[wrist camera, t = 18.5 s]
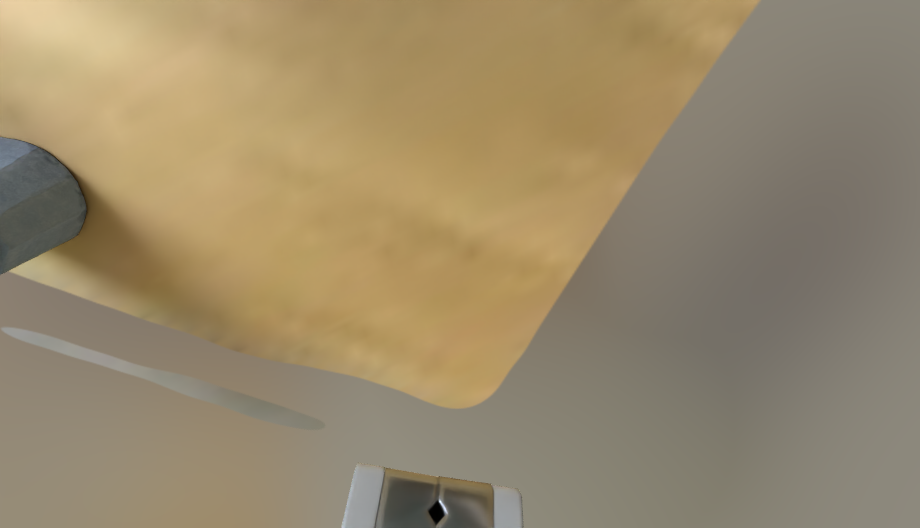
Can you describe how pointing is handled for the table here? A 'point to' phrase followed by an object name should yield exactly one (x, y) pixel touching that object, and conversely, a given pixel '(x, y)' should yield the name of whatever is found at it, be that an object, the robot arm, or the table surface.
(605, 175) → the table surface
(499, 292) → the table surface
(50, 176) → the moka pot
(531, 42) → the table surface
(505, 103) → the table surface
